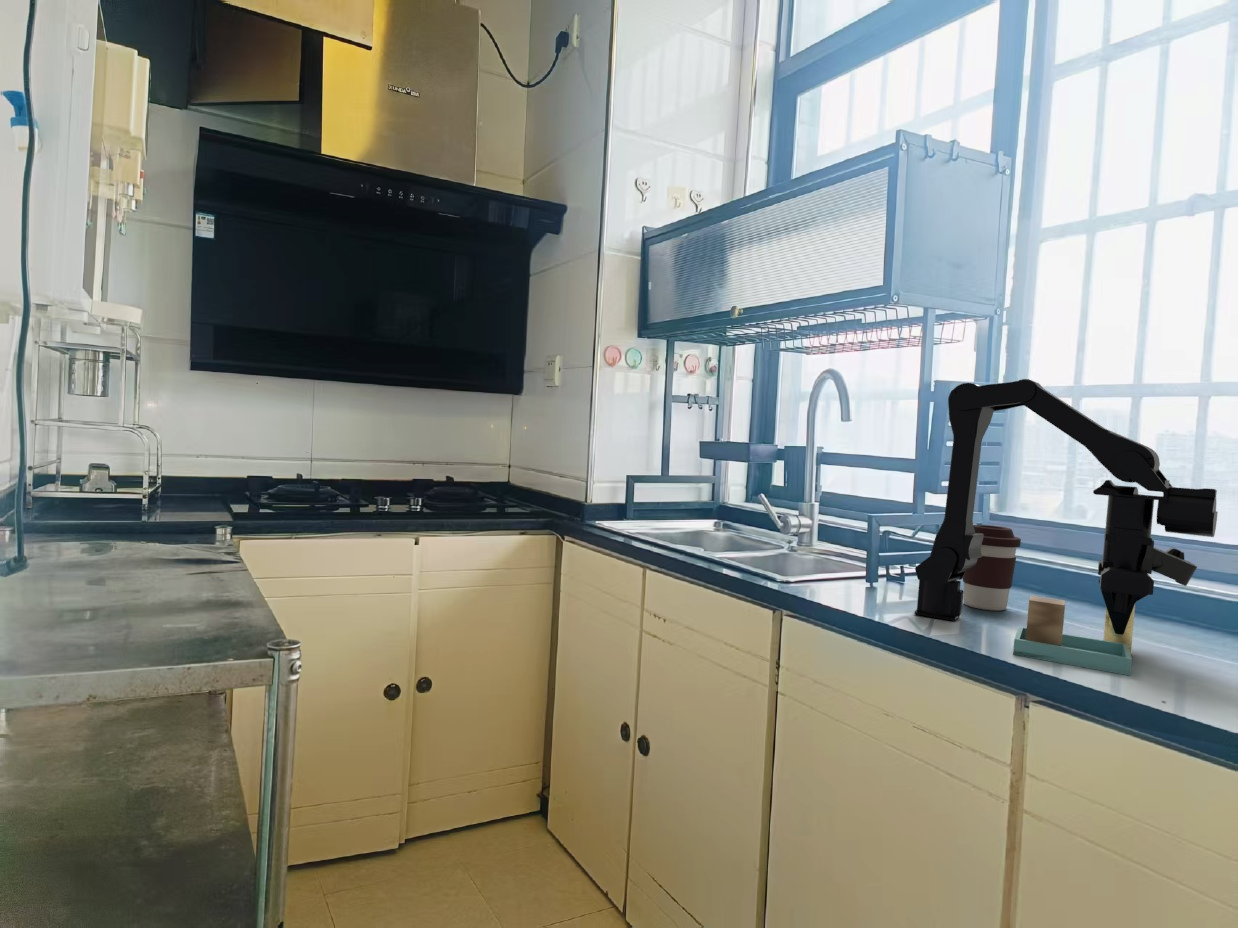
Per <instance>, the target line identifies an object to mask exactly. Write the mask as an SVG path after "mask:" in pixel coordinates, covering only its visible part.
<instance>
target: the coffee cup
mask: <svg viewBox="0 0 1238 928" xmlns="http://www.w3.org/2000/svg"><path fill="white" fill-rule="evenodd" d="M973 526H974V530H975V534H984V537H983V541H982V544H981V554H982V557H981V558H978V559H977V563H976V564H975V566H974V567H972V568H971V569H970V570H968V571H966V572H965V574H964V576H963V578H962V582H963V591H964V592H963V603H964V604H965V605H966V606H967V607H971V608H974V609H978V610H985V611H995V612H997V611H999V612H1000V611H1005V610H1006V609H1008V603H1009V597H1010V596H1009V594H1010V590H1011V589H1012V585H1013V579H1014V574H1015V567H1016V563H1017V557H1016V554H1017V553H1016V552H1017V548H1019V547H1021V543H1022V540H1021V538H1020V537H1017V536H1015V535H1014V532H1013V529H1012V528H1009V527H1006V526H998V525H987V524H973Z"/></svg>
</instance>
